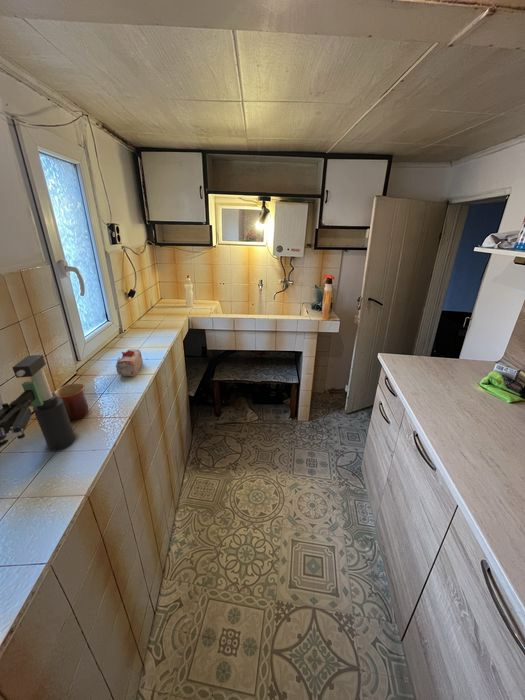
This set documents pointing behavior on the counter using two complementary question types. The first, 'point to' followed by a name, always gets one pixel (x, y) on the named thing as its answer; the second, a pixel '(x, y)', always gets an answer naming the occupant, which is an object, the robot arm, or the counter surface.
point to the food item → (129, 363)
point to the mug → (73, 400)
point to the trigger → (34, 388)
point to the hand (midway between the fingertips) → (30, 394)
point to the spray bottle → (47, 405)
